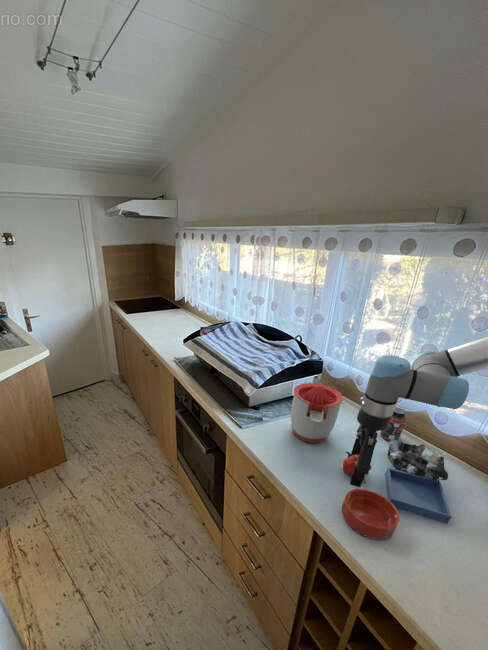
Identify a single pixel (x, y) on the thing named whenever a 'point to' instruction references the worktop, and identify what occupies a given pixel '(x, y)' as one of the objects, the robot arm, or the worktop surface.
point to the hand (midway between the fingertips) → (355, 469)
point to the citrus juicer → (314, 411)
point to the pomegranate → (351, 464)
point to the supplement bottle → (395, 425)
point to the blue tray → (417, 495)
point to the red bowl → (370, 513)
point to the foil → (416, 460)
